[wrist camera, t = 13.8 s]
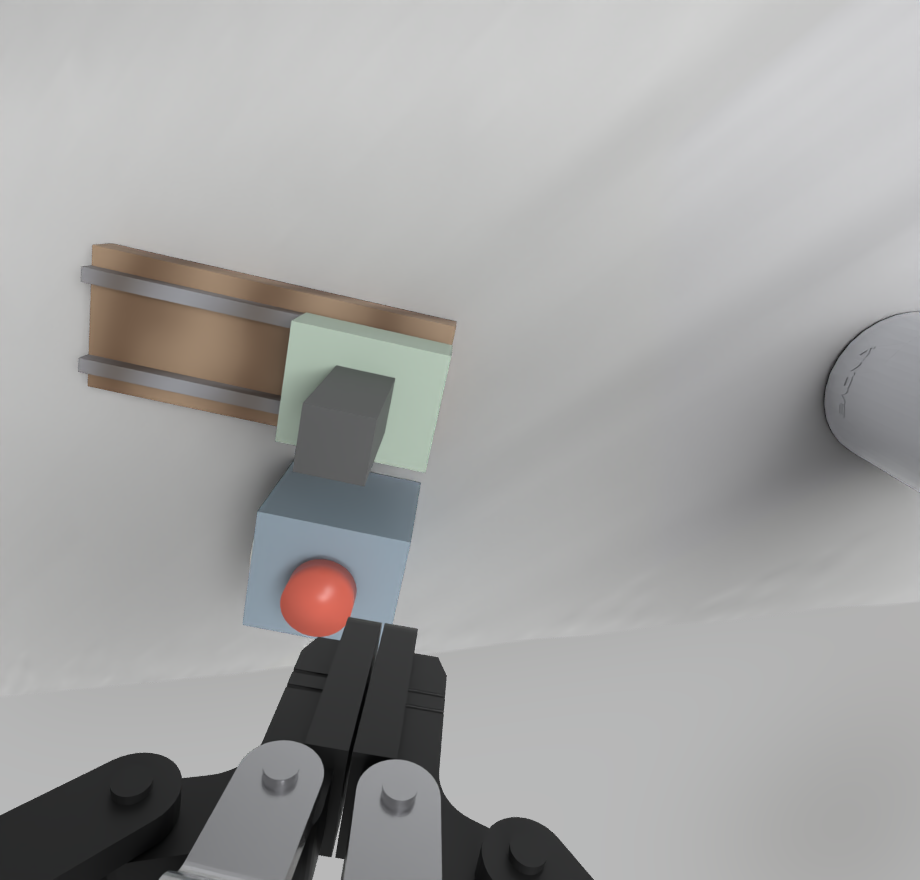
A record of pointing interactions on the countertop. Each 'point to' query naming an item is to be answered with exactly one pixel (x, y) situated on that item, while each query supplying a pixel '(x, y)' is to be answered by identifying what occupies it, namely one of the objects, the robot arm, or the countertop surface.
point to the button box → (332, 542)
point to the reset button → (318, 598)
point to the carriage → (359, 398)
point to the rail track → (209, 331)
